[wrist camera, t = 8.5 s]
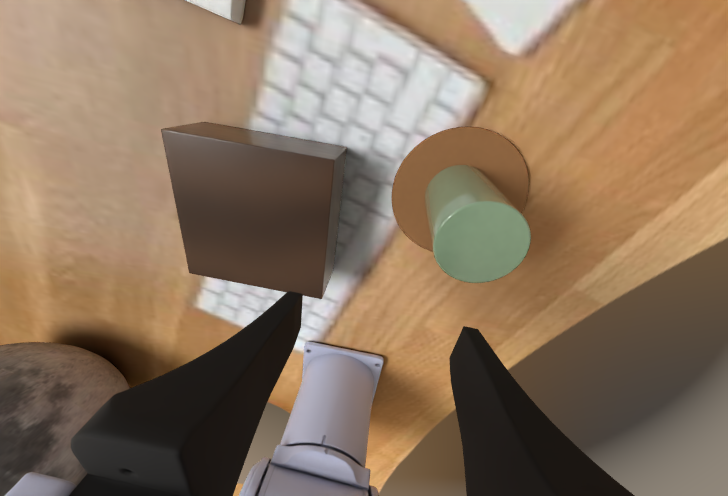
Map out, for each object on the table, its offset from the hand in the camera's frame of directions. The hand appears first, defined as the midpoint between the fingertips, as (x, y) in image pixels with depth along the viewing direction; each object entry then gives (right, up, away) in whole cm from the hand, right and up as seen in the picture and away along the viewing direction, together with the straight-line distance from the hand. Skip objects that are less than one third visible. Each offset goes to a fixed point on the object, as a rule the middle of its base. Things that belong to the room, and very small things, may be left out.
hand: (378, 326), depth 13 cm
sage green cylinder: (+6, +7, +7) cm, 11 cm away
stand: (-7, +7, +9) cm, 14 cm away
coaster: (+6, +7, +7) cm, 12 cm away
